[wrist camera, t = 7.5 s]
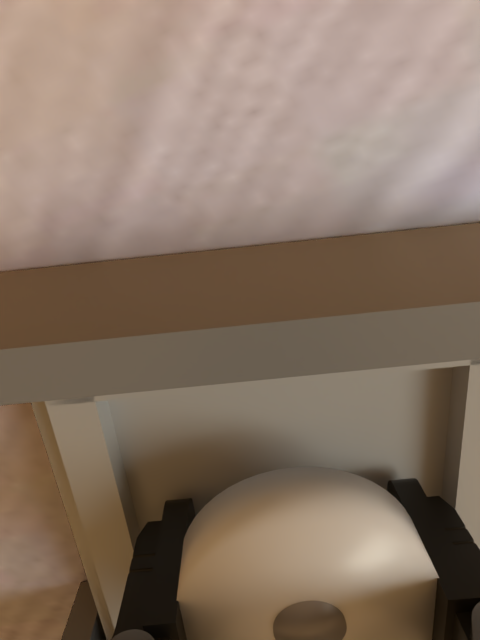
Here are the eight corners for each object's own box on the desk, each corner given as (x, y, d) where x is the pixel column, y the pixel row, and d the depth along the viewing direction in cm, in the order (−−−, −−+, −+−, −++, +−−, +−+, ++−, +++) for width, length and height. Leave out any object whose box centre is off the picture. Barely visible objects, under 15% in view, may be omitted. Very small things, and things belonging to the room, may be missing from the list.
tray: (-20, 274, 12) (-201, 369, 7) (555, 214, 12) (800, 269, 7) (114, 683, 19) (71, 883, 14) (485, 651, 19) (581, 845, 13)
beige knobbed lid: (162, 479, 10) (149, 540, 9) (424, 455, 10) (459, 513, 9) (197, 648, 12) (192, 722, 11) (412, 630, 12) (439, 702, 11)
